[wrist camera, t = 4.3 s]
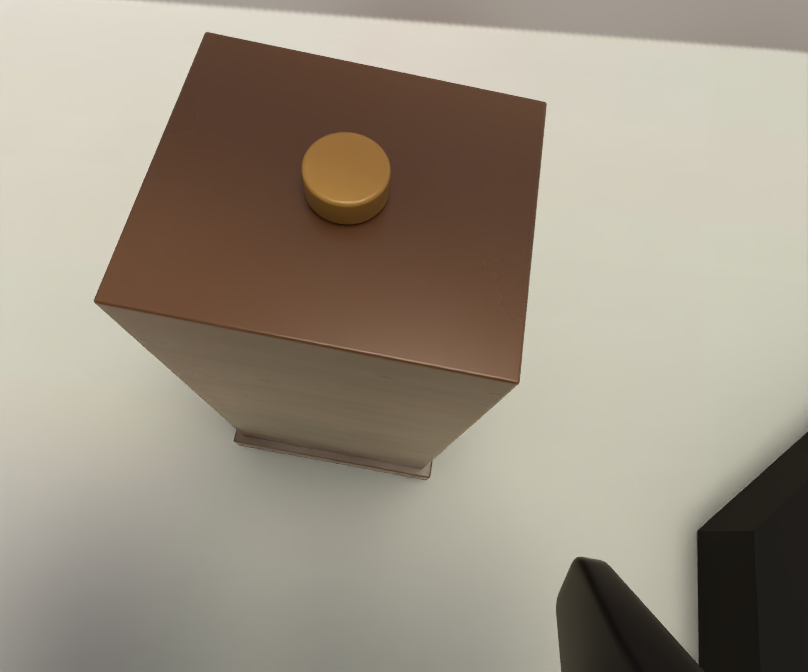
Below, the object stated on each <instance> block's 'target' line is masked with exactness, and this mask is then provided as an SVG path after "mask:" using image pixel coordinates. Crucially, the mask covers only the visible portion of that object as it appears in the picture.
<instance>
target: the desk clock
mask: <svg viewBox="0 0 808 672" xmlns="http://www.w3.org/2000/svg"><path fill="white" fill-rule="evenodd" d="M546 106H547V105H546V103H545V102H542V101H537V100H532V99H528V98H523V97H518V96H513V95H508V94H503V93H499V92H494V91H489V90H484V89H479V88H474V87H470V86H465V85H460V84H455V83H450V82H446V81H441V80H436V79H431V78H426V77H421V76H417V75H412V74H407V73H402V72H397V71H392V70H388V69H383V68H378V67H373V66H368V65H363V64H359V63H354V62H349V61H344V60H339V59H334V58H330V57H325V56H320V55H315V54H310V53H305V52H301V51H296V50H291V49H286V48H281V47H276V46H272V45H267V44H262V43H257V42H252V41H248V40H243V39H238V38H233V37H228V36H223V35H219V34H214V33H209V32H206V33H205V35H204V37H203V39H202V42H201V44H200V47H199V49H198V51H197V54H196V56H195V59H194V61H193V63H192V66H191V68H190V71H189V73H188V75H187V78H186V80H185V83H184V85H183V87H182V90H181V92H180V95H179V97H178V99H177V102H176V104H175V107H174V109H173V111H172V114H171V116H170V119H169V121H168V123H167V126H166V128H165V131H164V133H163V135H162V138H161V140H160V143H159V145H158V147H157V150H156V152H155V155H154V157H153V159H152V162H151V164H150V167H149V169H148V171H147V174H146V176H145V179H144V181H143V183H142V186H141V188H140V191H139V193H138V195H137V198H136V200H135V203H134V205H133V207H132V210H131V212H130V215H129V217H128V219H127V222H126V224H125V227H124V229H123V231H122V234H121V236H120V239H119V241H118V243H117V246H116V248H115V251H114V253H113V255H112V258H111V260H110V263H109V265H108V267H107V270H106V272H105V275H104V277H103V279H102V282H101V284H100V287H99V289H98V291H97V294H96V296H95V299H94V303H95V304H97V305H98V306H99V307H100V308H101V309H102V310H103V311H104V312H106V313H107V314H108V315H109V316H110V317H111V318H112V319H113V320H115V321H116V322H117V323H118V324H119V325H120V326H121V327H122V328H124V329H125V330H126V331H127V332H128V333H129V334H130V335H131V336H133V337H134V338H135V339H136V340H137V341H138V342H139V343H140V344H142V345H143V346H144V347H145V348H146V349H147V350H148V351H149V352H151V353H152V354H153V355H154V356H155V357H156V358H157V359H158V360H160V361H161V362H162V363H163V364H164V365H165V366H166V367H167V368H169V369H170V370H171V371H172V372H173V373H174V374H175V375H176V376H178V377H179V378H180V379H181V380H182V381H183V382H184V383H185V384H187V385H188V386H189V387H190V388H191V389H192V390H193V391H194V392H196V393H197V394H198V395H199V396H200V397H201V398H202V399H203V400H205V401H206V402H207V403H208V404H209V405H210V406H211V407H212V408H214V409H215V410H216V411H217V412H218V413H219V414H220V415H221V416H223V417H224V418H225V419H226V420H227V421H228V422H229V423H230V424H232V425H233V426H234V427H235V428H236V429H237V431H236V434H235V438H234V442H236V443H237V444H238V445H242V446H247V447H253V448H258V449H263V450H269V451H274V452H279V453H285V454H290V455H295V456H301V457H306V458H311V459H317V460H322V461H327V462H333V463H338V464H343V465H349V466H354V467H359V468H365V469H370V470H376V471H381V472H386V473H392V474H397V475H402V476H408V477H413V478H418V479H424V480H427V479H428V478H430V473H431V467H432V460H433V459H434V458H435V457H437V456H438V455H439V454H440V453H441V452H442V451H443V450H444V449H446V448H447V447H448V446H449V445H450V444H451V443H452V442H454V441H455V440H456V439H457V438H458V437H459V436H460V435H461V434H463V433H464V432H465V431H466V430H467V429H468V428H469V427H470V426H472V425H473V424H474V423H475V422H476V421H477V420H478V419H480V418H481V417H482V416H483V415H484V414H485V413H486V412H487V411H489V410H490V409H491V408H492V407H493V406H494V405H495V404H497V403H498V402H499V401H500V400H501V399H502V398H503V397H504V396H506V395H507V394H508V393H509V392H510V391H511V390H512V389H513V388H515V387H516V386H517V385H518V384H519V382H520V372H521V362H522V351H523V341H524V331H525V321H526V311H527V300H528V290H529V280H530V270H531V260H532V249H533V239H534V229H535V219H536V208H537V198H538V188H539V178H540V168H541V157H542V147H543V137H544V127H545V116H546Z"/></svg>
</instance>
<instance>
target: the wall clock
mask: <svg viewBox="0 0 808 672" xmlns="http://www.w3.org/2000/svg"><path fill="white" fill-rule="evenodd" d="M698 595H699V666H700V667H701V668H702V669H703V670H704V672H808V432H807V433H806V434H805V435H804V436H803V437H802V438H801V439H800V440H799V441H797V442H796V443H795V444H794V445H793V446H792V447H791V448H790V449H788V450H787V451H786V452H785V453H784V454H783V455H782V456H781V457H780V458H778V459H777V460H776V461H775V462H774V463H773V464H772V465H771V466H770V467H768V468H767V469H766V470H765V471H764V472H763V473H762V474H761V475H760V476H758V477H757V478H756V479H755V480H754V481H753V482H752V483H751V484H749V485H748V486H747V487H746V488H745V489H744V490H743V491H742V492H741V493H739V494H738V495H737V496H736V497H735V498H734V499H733V500H732V501H731V502H729V503H728V504H727V505H726V506H725V507H724V508H723V509H722V510H720V511H719V512H718V513H717V514H716V515H715V516H714V517H713V518H712V519H710V520H709V521H708V522H707V523H706V524H705V525H704V526H703V527H702V528H700V529H699V530H698Z"/></svg>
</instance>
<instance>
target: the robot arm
mask: <svg viewBox="0 0 808 672" xmlns="http://www.w3.org/2000/svg"><path fill="white" fill-rule="evenodd" d="M556 616H557V627H558V639H559V650H560V662H561V672H704V670H703V669H702V668H701V667H700V666H699V665H698V664H697V663H696V662H695V660H694V659H693V658H692V657H691V656H690V655H689V654H688V653H687V652H686V650H685V649H684V648H683V647H682V646H681V645H680V644H679V643H678V641H677V640H676V639H675V638H674V637H673V636H672V635H671V634H670V633H669V631H668V630H667V629H666V628H665V627H664V626H663V625H662V624H661V623H660V621H659V620H658V619H657V618H656V617H655V616H654V615H653V614H652V613H651V611H650V610H649V609H648V608H647V607H646V606H645V605H644V604H643V602H642V601H641V600H640V599H639V598H638V597H637V596H636V595H635V594H634V592H633V591H632V590H631V589H630V588H629V587H628V586H627V585H626V584H625V582H624V581H623V580H622V579H621V578H620V577H619V576H618V575H617V573H616V572H615V571H614V570H613V569H612V568H611V567H610V566H609V565H608V564H607V563H606V562H604V561H601V560H596V559H591V558H585V557H577V558H576V559H575V560H574V561H573V562H572V564H571V566H570V569H569V571H568V573H567V575H566V578H565V580H564V582H563V585H562V587H561V589H560V591H559V594H558V597H557V603H556Z"/></svg>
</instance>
